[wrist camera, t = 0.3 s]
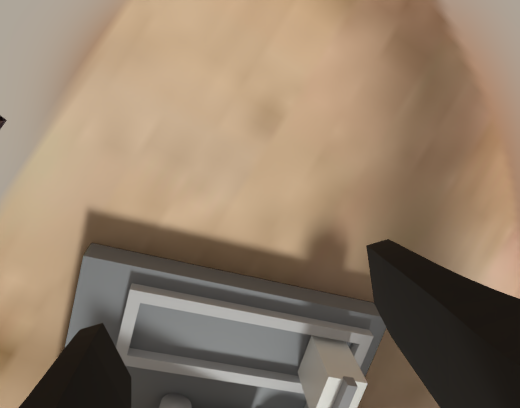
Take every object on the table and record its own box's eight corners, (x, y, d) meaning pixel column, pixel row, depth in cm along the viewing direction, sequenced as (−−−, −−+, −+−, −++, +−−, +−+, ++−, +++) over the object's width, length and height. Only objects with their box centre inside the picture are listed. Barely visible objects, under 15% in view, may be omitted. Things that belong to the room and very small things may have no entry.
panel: (312, 463, 27) (325, 511, 25) (52, 432, 24) (31, 482, 21) (379, 304, 24) (403, 336, 21) (91, 242, 21) (73, 271, 18)
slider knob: (330, 379, 24) (352, 433, 20) (296, 373, 23) (313, 428, 20) (346, 339, 23) (372, 389, 19) (312, 333, 22) (332, 382, 19)
